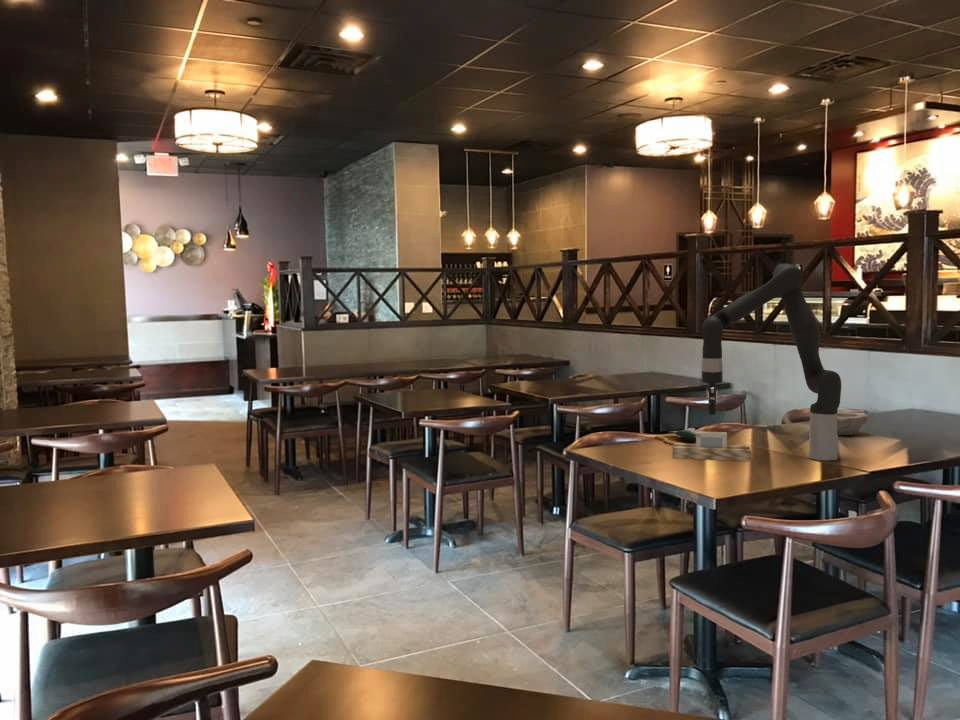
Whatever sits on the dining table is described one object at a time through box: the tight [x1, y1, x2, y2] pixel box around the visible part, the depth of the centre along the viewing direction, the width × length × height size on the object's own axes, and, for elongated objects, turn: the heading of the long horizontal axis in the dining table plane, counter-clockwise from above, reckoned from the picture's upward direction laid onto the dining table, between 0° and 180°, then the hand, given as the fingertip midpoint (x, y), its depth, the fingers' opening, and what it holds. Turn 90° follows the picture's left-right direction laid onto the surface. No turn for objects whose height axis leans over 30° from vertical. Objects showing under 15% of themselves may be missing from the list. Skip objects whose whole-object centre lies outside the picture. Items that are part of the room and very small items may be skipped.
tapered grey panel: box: [695, 430, 728, 449], centre depth 283 cm, size 11×3×8 cm, turn 74°
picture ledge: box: [672, 443, 752, 462], centre depth 283 cm, size 28×10×4 cm, turn 75°
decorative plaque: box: [654, 427, 697, 446], centre depth 311 cm, size 30×7×20 cm
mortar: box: [837, 411, 870, 436], centre depth 329 cm, size 17×17×9 cm
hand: (711, 412), depth 283 cm, fingers open, 8 cm apart
